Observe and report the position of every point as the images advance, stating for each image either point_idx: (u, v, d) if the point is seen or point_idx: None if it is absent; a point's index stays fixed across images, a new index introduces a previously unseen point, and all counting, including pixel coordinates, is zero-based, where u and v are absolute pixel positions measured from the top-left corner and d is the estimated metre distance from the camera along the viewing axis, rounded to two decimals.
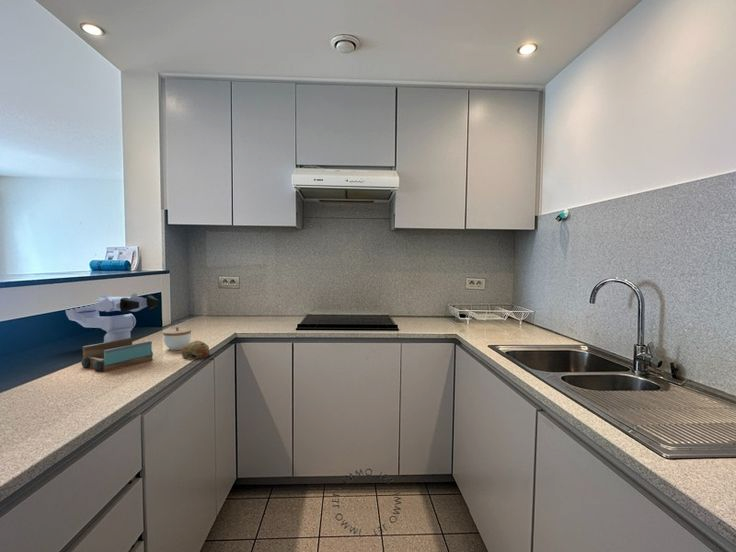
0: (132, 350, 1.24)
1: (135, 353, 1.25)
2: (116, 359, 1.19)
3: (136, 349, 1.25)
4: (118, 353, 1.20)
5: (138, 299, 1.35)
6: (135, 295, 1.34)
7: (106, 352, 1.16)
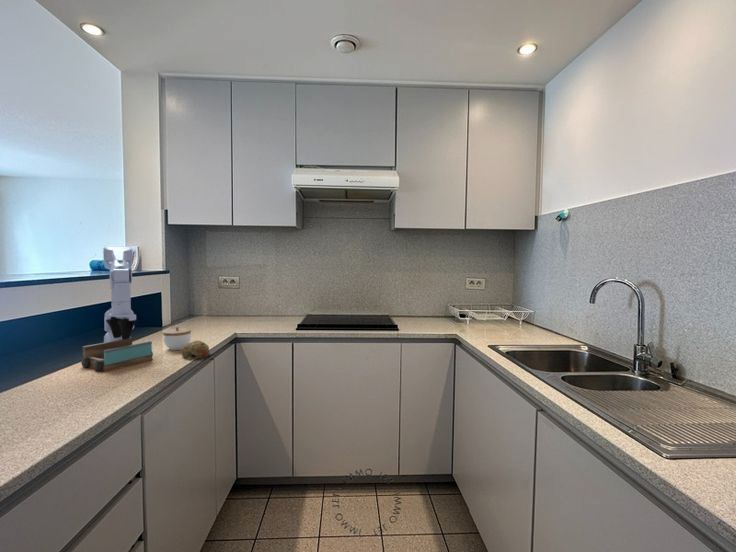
0: (132, 350, 1.24)
1: (135, 353, 1.25)
2: (116, 359, 1.19)
3: (136, 349, 1.25)
4: (118, 353, 1.20)
5: None
6: (111, 316, 1.21)
7: (106, 352, 1.16)
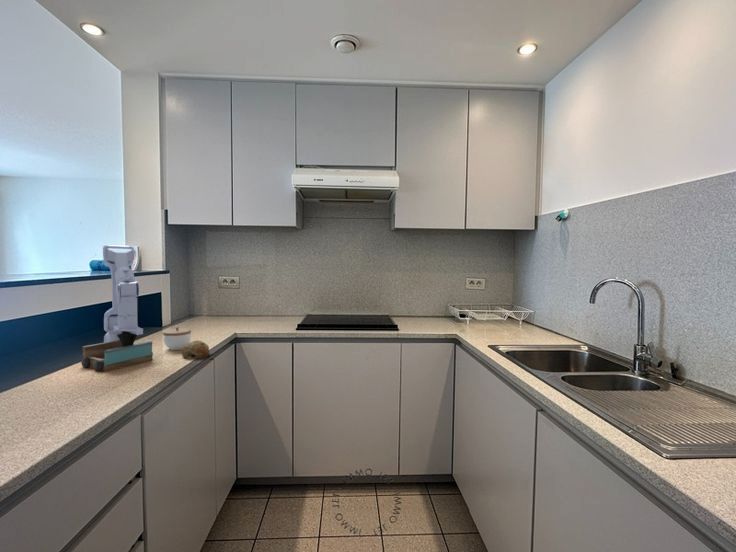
0: (133, 350, 1.24)
1: (135, 353, 1.25)
2: (116, 359, 1.19)
3: (137, 349, 1.25)
4: (119, 353, 1.19)
5: None
6: (118, 330, 1.20)
7: (107, 352, 1.16)
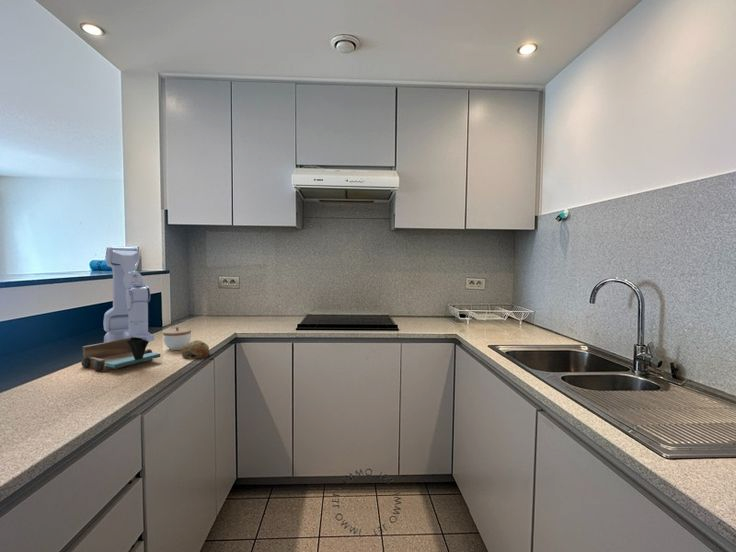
0: None
1: None
2: None
3: None
4: None
5: None
6: (128, 337, 1.17)
7: (114, 367, 1.14)
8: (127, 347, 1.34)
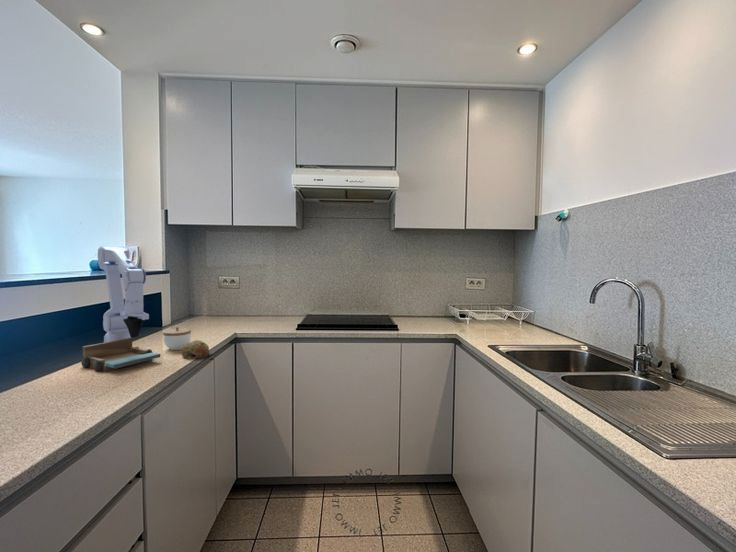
0: None
1: None
2: None
3: None
4: None
5: None
6: (125, 315, 1.25)
7: (114, 367, 1.14)
8: (127, 347, 1.34)
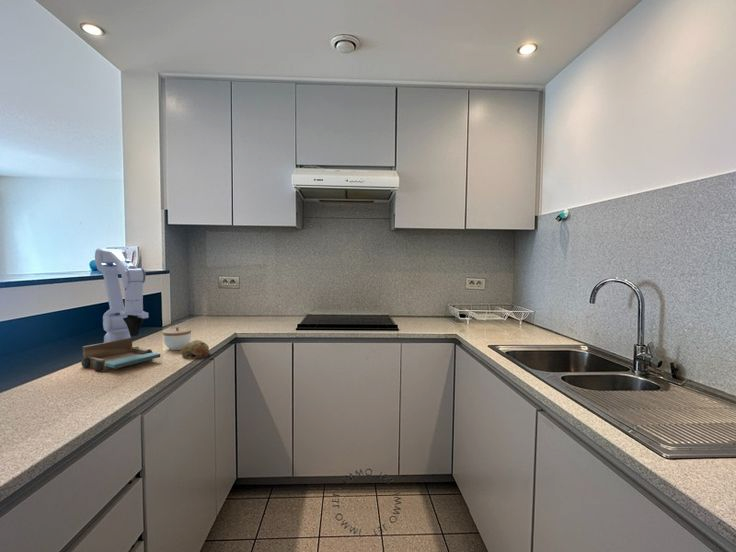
0: None
1: None
2: None
3: None
4: None
5: None
6: (124, 314, 1.26)
7: (114, 367, 1.14)
8: (127, 347, 1.34)
